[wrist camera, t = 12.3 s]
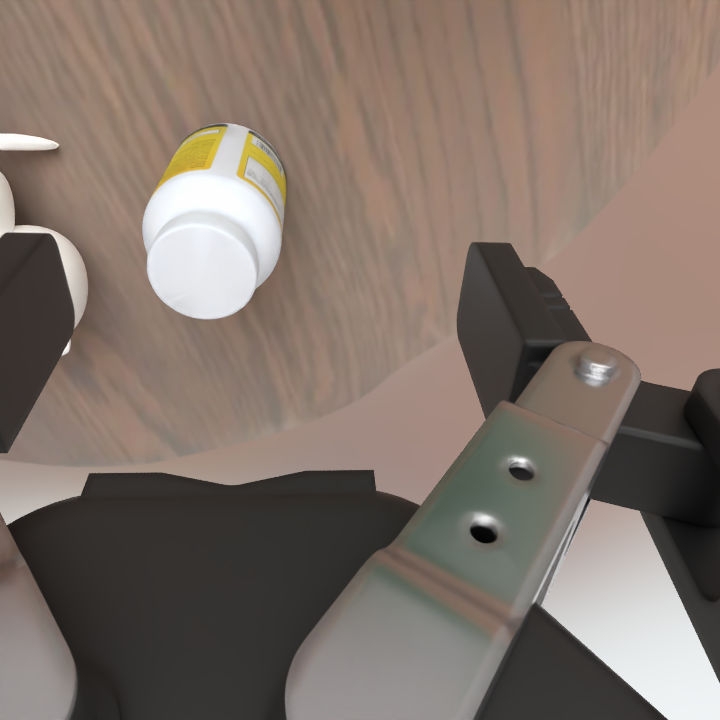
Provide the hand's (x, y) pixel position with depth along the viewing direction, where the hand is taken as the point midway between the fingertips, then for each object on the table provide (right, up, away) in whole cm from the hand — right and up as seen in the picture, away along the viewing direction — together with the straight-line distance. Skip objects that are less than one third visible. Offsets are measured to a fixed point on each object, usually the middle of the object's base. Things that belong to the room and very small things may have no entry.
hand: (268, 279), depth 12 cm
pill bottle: (-6, +9, +23) cm, 26 cm away
